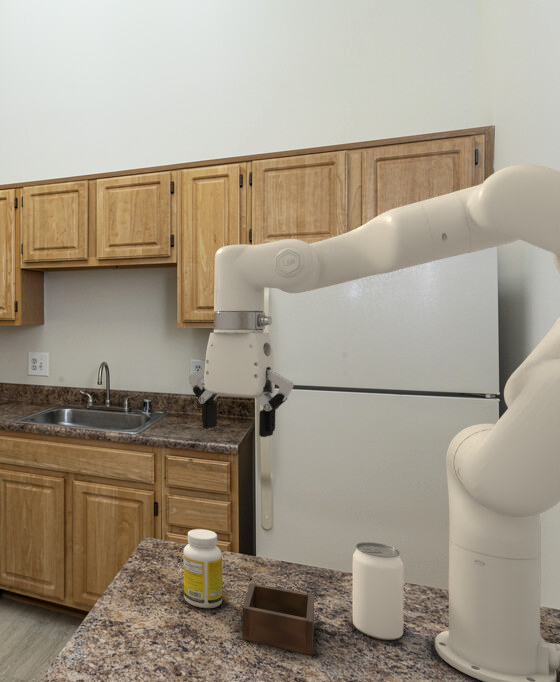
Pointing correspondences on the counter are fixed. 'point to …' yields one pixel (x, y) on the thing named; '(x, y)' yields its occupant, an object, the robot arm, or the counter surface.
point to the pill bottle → (202, 569)
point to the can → (378, 591)
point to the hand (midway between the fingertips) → (236, 431)
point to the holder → (279, 618)
